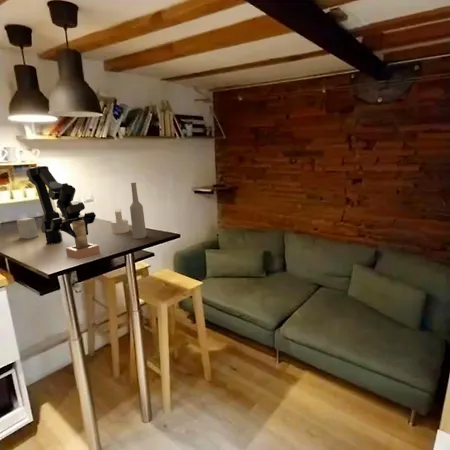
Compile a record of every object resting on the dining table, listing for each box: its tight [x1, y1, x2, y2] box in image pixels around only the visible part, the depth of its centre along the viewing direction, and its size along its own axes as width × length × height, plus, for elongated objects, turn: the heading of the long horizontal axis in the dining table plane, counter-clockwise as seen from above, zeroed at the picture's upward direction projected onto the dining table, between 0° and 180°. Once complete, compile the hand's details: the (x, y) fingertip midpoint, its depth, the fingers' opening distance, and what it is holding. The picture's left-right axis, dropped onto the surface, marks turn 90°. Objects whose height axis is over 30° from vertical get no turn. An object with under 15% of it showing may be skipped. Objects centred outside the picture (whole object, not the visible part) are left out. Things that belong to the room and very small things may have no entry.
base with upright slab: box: [110, 208, 130, 235], centre depth 186 cm, size 9×9×12 cm
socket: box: [65, 242, 101, 260], centre depth 150 cm, size 10×10×4 cm
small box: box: [16, 217, 39, 240], centre depth 186 cm, size 8×6×10 cm
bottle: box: [129, 182, 147, 240], centre depth 170 cm, size 7×7×28 cm
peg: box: [71, 220, 89, 250], centre depth 148 cm, size 5×5×13 cm
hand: (81, 235), depth 147 cm, fingers closed on peg, 5 cm apart
